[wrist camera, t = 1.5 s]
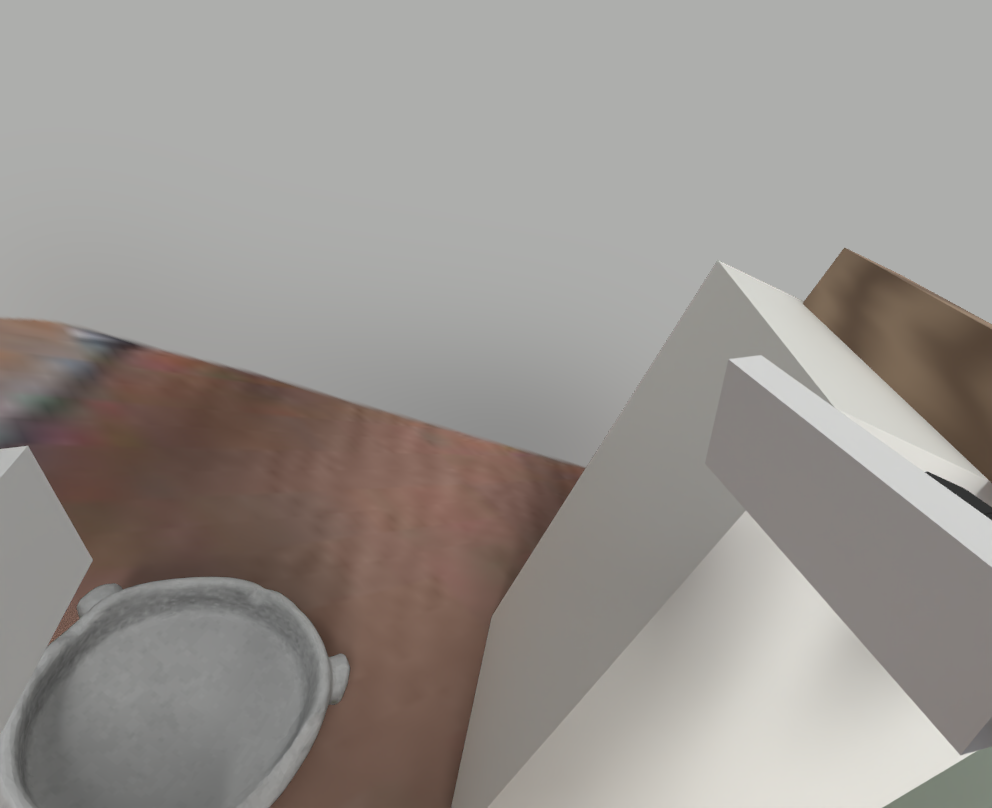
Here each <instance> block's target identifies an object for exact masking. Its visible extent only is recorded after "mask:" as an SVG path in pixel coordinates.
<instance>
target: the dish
mask: <svg viewBox="0 0 992 808" xmlns="http://www.w3.org/2000/svg"><path fill="white" fill-rule="evenodd" d="M77 610H78V615H79V618H80V619H79V620H78V621H77V622H76V623H74V624H73V625H72V626H71V627H70V628H69V629H68V630H67V631H65V632H64V633H63V634H62V635H60V636H59V637H58V638H57V639H56V640H54V641H53V642H52V643H51V644H50V645H49V646H47V647H46V649H45V651H44V653H43V655H42V657H41V659H40V660H39V662H38V664H37V666H36V668H35V670H34V672H33V674H32V676H31V677H30V679H29V681H28V683H27V685H26V687H25V689H24V691H23V692H22V694H21V696H20V698H19V700H18V702H17V704H16V706H15V708H14V709H13V711H12V713H11V715H10V717H9V719H8V721H7V723H6V724H5V726H4V728H3V730H2V732H1V734H0V808H269V807H270V806H271V805H272V804H273V803H274V802H275V801H276V800H277V799H278V797H279V796H280V795H281V794H282V792H283V791H284V790H285V788H286V787H287V786H288V784H289V783H290V781H291V780H292V778H293V777H294V775H295V774H296V772H297V771H298V769H299V768H300V766H301V764H302V763H303V761H304V760H305V758H306V756H307V755H308V753H309V751H310V749H311V747H312V745H313V743H314V741H315V739H316V737H317V735H318V733H319V730H320V728H321V725H322V722H323V720H324V717H325V714H326V710H327V707H328V705H329V704H331V705H335V704H337V703H339V702H340V701H341V699H342V697H343V694H344V692H345V689H346V686H347V684H348V678H349V673H350V666H349V663H348V660H347V658H346V656H345V655H343V654H338V655H335V656H332V657H328V655H327V652H326V649H325V646H324V644H323V641H322V639H321V637H320V636H319V634H318V632H317V630H316V629H315V627H314V626H313V624H312V623H311V621H310V620H309V619H308V618H307V616H306V615H305V614H304V613H303V612H301V611H300V610H299V609H298V608H297V606H296V605H295V604H294V603H293V602H291V601H290V600H289V599H288V598H286V597H285V596H284V595H282V594H281V593H279V592H276V591H273V590H267V589H265V588H263V587H261V586H260V585H258V584H255V583H253V582H250V581H246V580H242V579H237V578H229V577H191V578H178V579H168V580H161V581H154V582H149V583H144V584H139V585H136V586H132V587H129V588H126V589H122V587H121V586H119V585H117V584H115V583H114V584H105V585H101V586H99V587H96V588H94V589H93V590H91V591H90V592H89V593H87V594H86V595H85V596H84V597H83V598H81V599H80V601H79V603H78V605H77Z"/></svg>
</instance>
